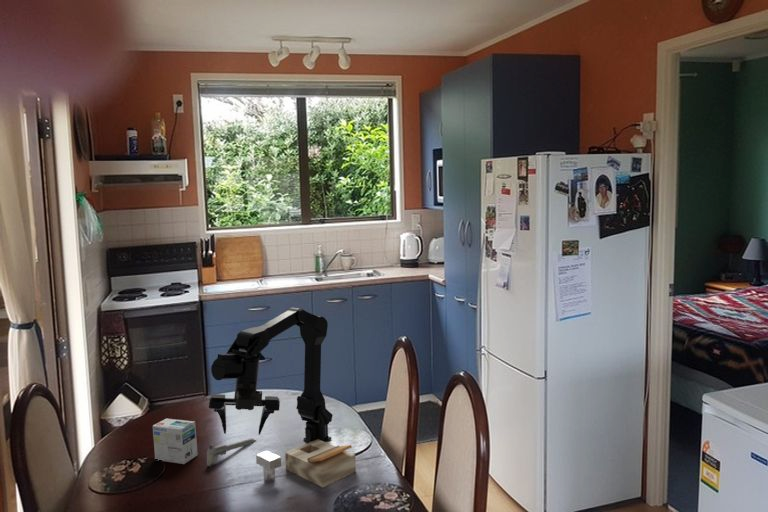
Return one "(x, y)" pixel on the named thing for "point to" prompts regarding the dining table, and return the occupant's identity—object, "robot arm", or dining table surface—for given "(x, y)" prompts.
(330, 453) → the tan wooden plank
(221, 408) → the robot arm
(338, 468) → the hitch block
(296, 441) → the dining table surface
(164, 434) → the light bulb box
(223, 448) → the caliper
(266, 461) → the steel pin
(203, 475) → the dining table surface
